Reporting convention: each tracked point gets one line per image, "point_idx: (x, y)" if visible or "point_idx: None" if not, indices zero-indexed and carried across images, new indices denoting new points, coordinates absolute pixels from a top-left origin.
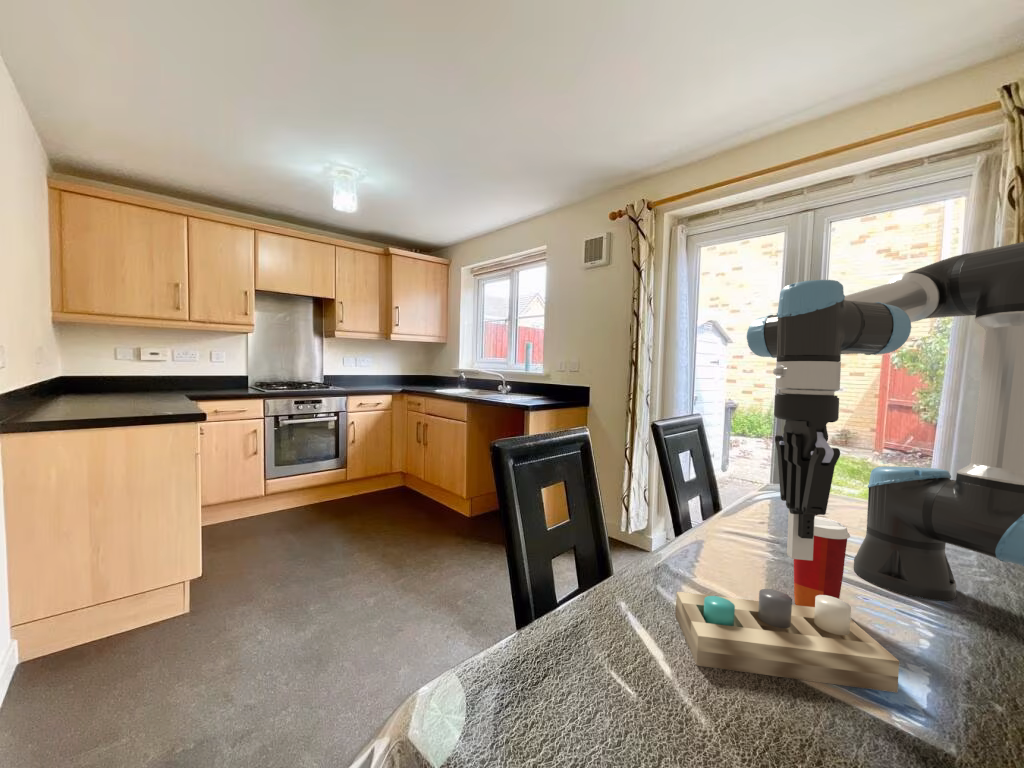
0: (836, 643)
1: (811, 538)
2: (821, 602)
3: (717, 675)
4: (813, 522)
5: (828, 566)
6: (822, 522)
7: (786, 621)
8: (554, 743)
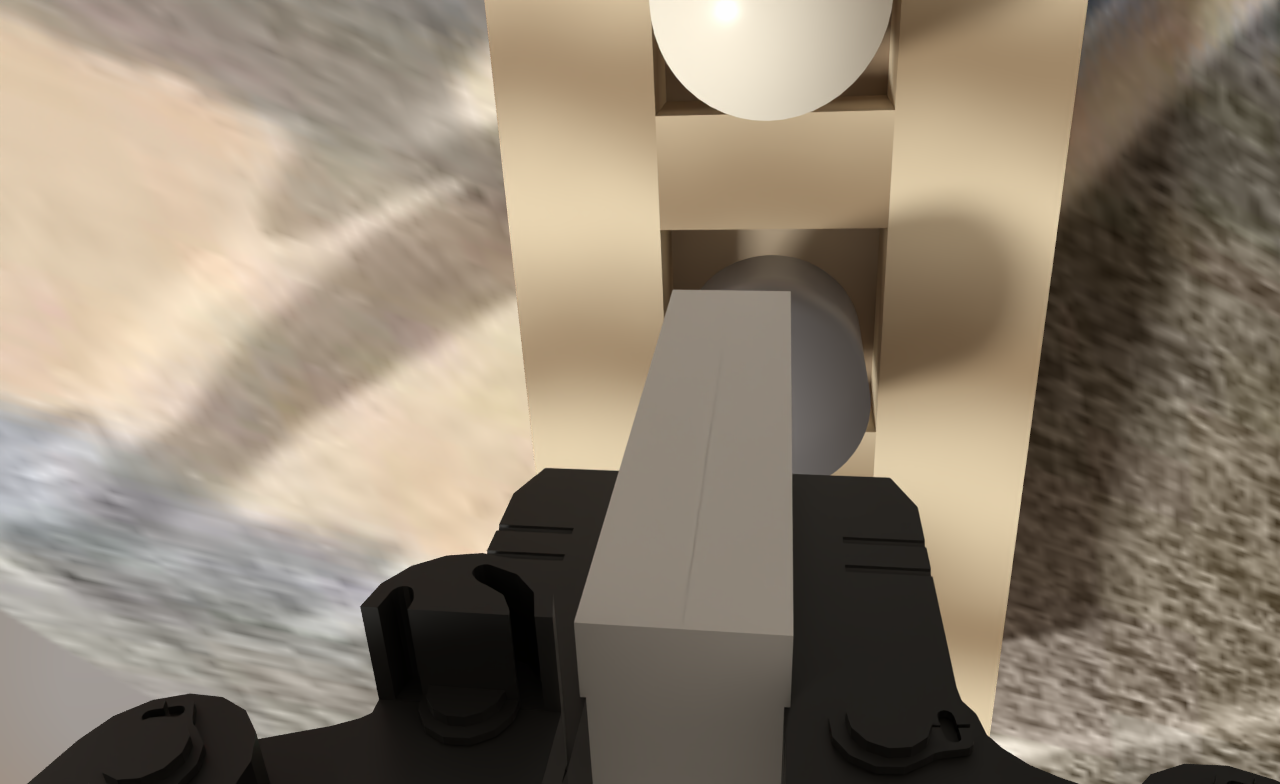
0: (957, 50)
1: (890, 492)
2: (798, 104)
3: (1021, 590)
4: (939, 645)
5: None
6: None
7: (858, 325)
8: None
